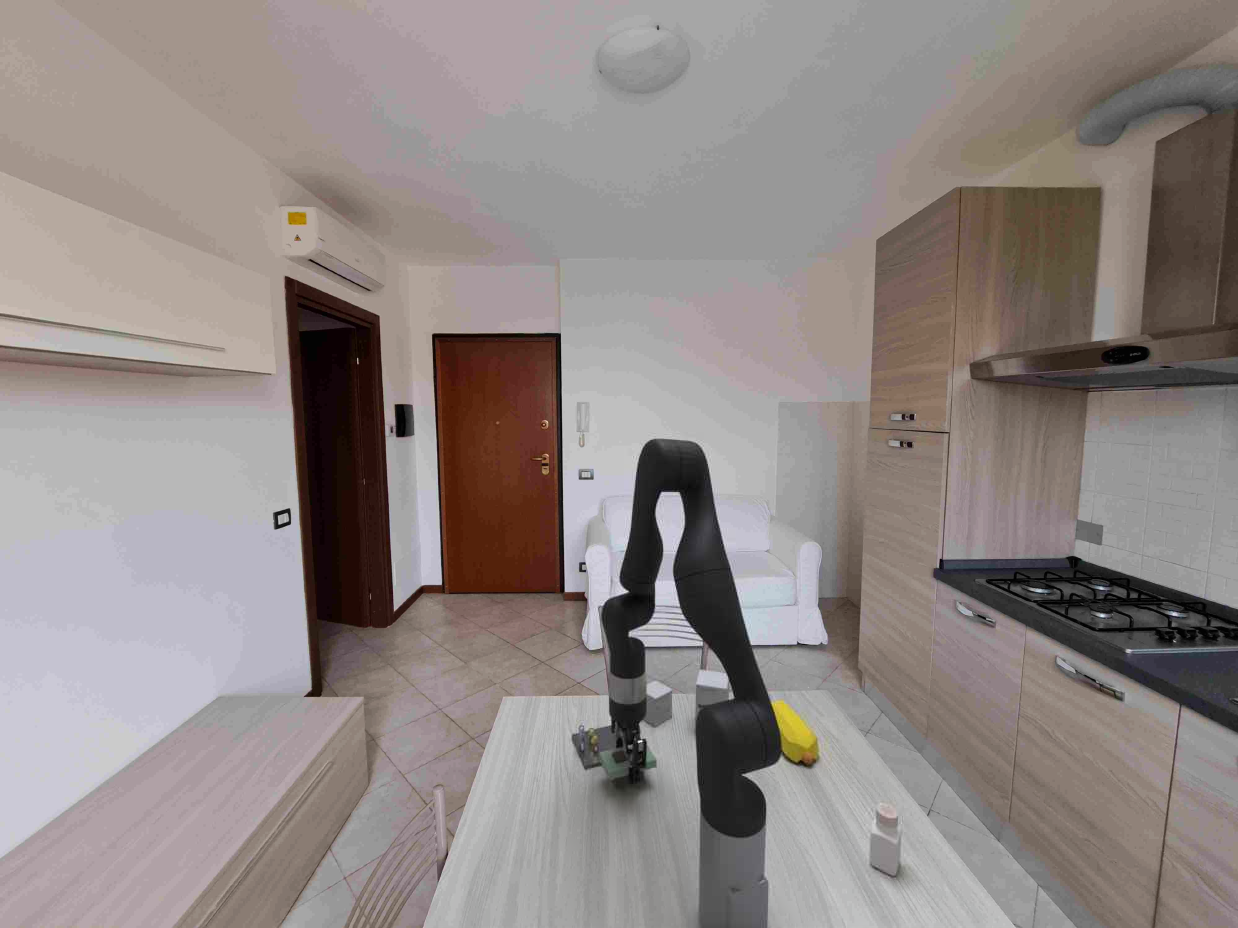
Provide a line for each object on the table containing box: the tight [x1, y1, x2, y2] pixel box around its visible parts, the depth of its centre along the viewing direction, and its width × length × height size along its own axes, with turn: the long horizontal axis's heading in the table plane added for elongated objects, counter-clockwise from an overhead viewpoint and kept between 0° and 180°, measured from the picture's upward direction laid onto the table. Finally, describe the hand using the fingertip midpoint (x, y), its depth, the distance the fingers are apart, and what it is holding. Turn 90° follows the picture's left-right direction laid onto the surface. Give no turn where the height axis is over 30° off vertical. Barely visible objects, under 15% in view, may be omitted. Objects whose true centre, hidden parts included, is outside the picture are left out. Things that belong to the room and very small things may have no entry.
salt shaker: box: [868, 802, 902, 877], centre depth 81 cm, size 4×4×10 cm
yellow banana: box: [771, 699, 820, 765], centre depth 112 cm, size 18×7×8 cm
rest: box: [611, 770, 645, 791], centre depth 100 cm, size 6×2×4 cm, turn 110°
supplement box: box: [694, 669, 730, 736], centre depth 116 cm, size 7×7×13 cm
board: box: [600, 745, 658, 781], centre depth 99 cm, size 10×6×2 cm, turn 110°
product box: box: [642, 680, 673, 728], centre depth 121 cm, size 6×6×7 cm
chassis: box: [571, 724, 616, 770], centre depth 111 cm, size 14×11×6 cm
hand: (627, 769), depth 100 cm, fingers open, 6 cm apart
